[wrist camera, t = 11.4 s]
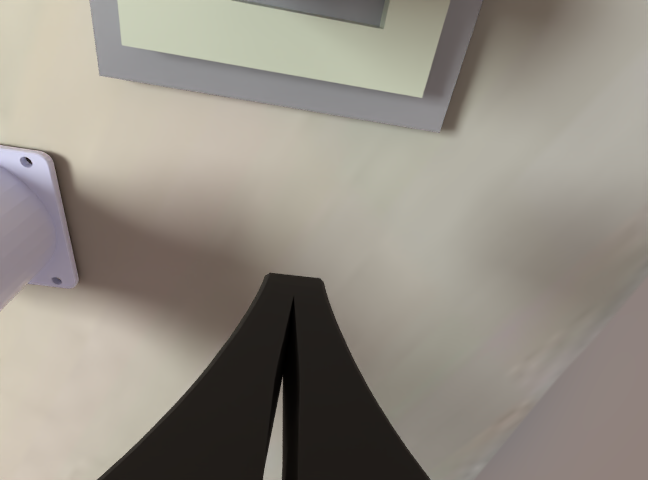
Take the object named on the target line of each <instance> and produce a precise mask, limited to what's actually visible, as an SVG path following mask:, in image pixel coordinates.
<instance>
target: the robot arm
mask: <svg viewBox="0 0 648 480" xmlns="http://www.w3.org/2000/svg"><path fill="white" fill-rule="evenodd" d="M26 157H27V158H29V159H30V160H31V161H32V164H30V163H29V162H28V161H27V160H26ZM58 278H59V279H60V280H59V279H58ZM78 282H79V278H78V273H77V268H76V264H75V259H74V254H73V250H72V245H71V241H70V236H69V231H68V227H67V222H66V218H65V213H64V208H63V204H62V199H61V194H60V190H59V185H58V181H57V176H56V171H55V167H54V162H53V160H52V158H51V157H50V156H49V155H48V154H46V153H45V152H42V151H37V150H30V149H24V148H17V147H10V146H3V145H0V311H1V310H2V309H3V308H4V307H5V306H6V305H7V304H8V303H9V302H10V301H11V300H12V299H13V298H14V297H15V296H16V295H17V294H18V293H19V292H20V291H21V290H22V289H23V287H24V286H25V285H26V284H35V285H43V286H52V287H60V288H74V287H75V286H76V285H77V283H78ZM282 377H283V468H282V480H430V478H429V477H428V476H427V474H426V473H425V472H424V470H423V469H422V468H421V466H420V465H419V464H418V462H417V461H416V460H415V458H414V457H413V456H412V454H411V453H410V452H409V450H408V449H407V447H406V446H405V444H404V443H403V441H402V440H401V439H400V437H399V436H398V434H397V433H396V431H395V430H394V428H393V427H392V425H391V424H390V422H389V420H388V419H387V417H386V416H385V414H384V412H383V411H382V409H381V408H380V406H379V405H378V403H377V401H376V399H375V398H374V396H373V394H372V393H371V391H370V389H369V387H368V386H367V384H366V382H365V380H364V378H363V376H362V374H361V373H360V371H359V369H358V367H357V365H356V363H355V361H354V359H353V357H352V355H351V353H350V351H349V349H348V347H347V344H346V342H345V340H344V338H343V335H342V333H341V331H340V329H339V326H338V324H337V322H336V319H335V316H334V314H333V311H332V308H331V306H330V303H329V300H328V297H327V293H326V290H325V285H324V282H323V281H322V280H321V279H320V278H311V277H302V276H293V275H284V274H275V273H269V274H267V275H266V276H265V277H264V280H263V283H262V285H261V287H260V289H259V291H258V293H257V295H256V297H255V299H254V301H253V302H252V304H251V306H250V307H249V309H248V311H247V312H246V314H245V315H244V317H243V318H242V320H241V322H240V323H239V325H238V326H237V328H236V329H235V331H234V332H233V334H232V335H231V336H230V338H229V339H228V341H227V342H226V343H225V345H224V346H223V347H222V348H221V350H220V351H219V352H218V354H217V355H216V356H215V358H214V359H213V360H212V362H211V363H210V364H209V366H208V367H207V368H206V369H205V370H204V372H203V373H202V374H201V375H200V376H199V378H198V379H197V380H196V381H195V382H194V384H193V385H192V386H191V387H190V388H189V389H188V390H187V392H186V393H185V394H184V395H183V396H182V397H181V398H180V399H179V400H178V402H177V403H176V404H175V405H174V406H173V407H172V408H171V409H170V410H169V411H168V412H167V413H166V414H165V415H164V416H163V417H162V418H161V419H160V420H159V421H158V422H157V423H156V425H155V426H154V427H153V428H152V429H151V430H150V431H149V432H148V433H147V434H146V435H145V436H144V437H143V438H142V439H141V440H140V441H139V442H138V443H137V444H136V445H135V446H133V447H132V448H131V449H130V450H129V451H128V452H127V453H126V454H125V455H124V456H123V457H122V458H121V459H119V460H118V461H117V462H116V463H115V464H114V465H113V466H112V467H111V468H110V469H108V470H107V471H106V472H105V473H104V474H103V475H102V476H101V477H100V478H98V479H97V480H263V474H264V468H265V463H266V458H267V453H268V448H269V442H270V437H271V432H272V427H273V422H274V417H275V412H276V407H277V402H278V397H279V392H280V387H281V382H282Z"/></svg>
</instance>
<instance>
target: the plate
mask: <svg viewBox="0 0 648 480" xmlns="http://www.w3.org/2000/svg"><path fill="white" fill-rule="evenodd" d="M482 2H483V0H90V7H91V15H92V22H93V30H94V37H95V45H96V52H97V60H98V67H99V75H100V76H105V77H111V78H117V79H122V80H128V81H134V82H140V83H146V84H152V85H158V86H164V87H170V88H176V89H182V90H188V91H194V92H200V93H206V94H212V95H218V96H224V97H230V98H236V99H242V100H248V101H253V102H259V103H265V104H271V105H277V106H283V107H289V108H295V109H301V110H307V111H313V112H319V113H325V114H331V115H337V116H343V117H349V118H355V119H361V120H367V121H373V122H379V123H384V124H390V125H396V126H402V127H408V128H414V129H420V130H426V131H432V132H438V133H440V130H441V127H442V124H443V120H444V117H445V114H446V111H447V108H448V105H449V102H450V99H451V96H452V93H453V90H454V87H455V84H456V81H457V78H458V75H459V72H460V69H461V66H462V63H463V60H464V57H465V54H466V51H467V48H468V45H469V42H470V39H471V36H472V33H473V30H474V27H475V24H476V21H477V18H478V15H479V11H480V8H481V5H482Z"/></svg>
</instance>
